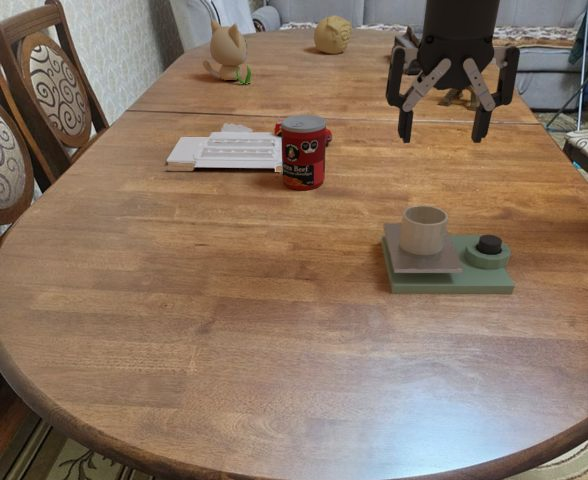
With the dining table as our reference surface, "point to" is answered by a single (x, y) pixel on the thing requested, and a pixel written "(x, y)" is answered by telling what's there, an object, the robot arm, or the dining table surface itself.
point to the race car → (278, 132)
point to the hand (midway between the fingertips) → (440, 141)
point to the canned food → (303, 151)
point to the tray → (230, 149)
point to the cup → (423, 229)
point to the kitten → (227, 52)
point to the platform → (420, 263)
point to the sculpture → (332, 34)
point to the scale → (474, 280)
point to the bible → (411, 45)
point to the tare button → (489, 244)
